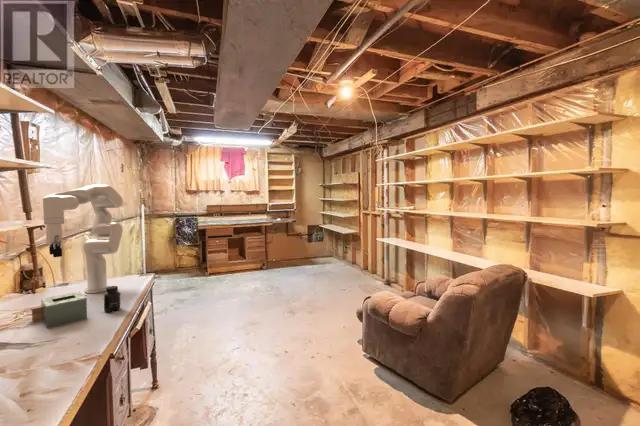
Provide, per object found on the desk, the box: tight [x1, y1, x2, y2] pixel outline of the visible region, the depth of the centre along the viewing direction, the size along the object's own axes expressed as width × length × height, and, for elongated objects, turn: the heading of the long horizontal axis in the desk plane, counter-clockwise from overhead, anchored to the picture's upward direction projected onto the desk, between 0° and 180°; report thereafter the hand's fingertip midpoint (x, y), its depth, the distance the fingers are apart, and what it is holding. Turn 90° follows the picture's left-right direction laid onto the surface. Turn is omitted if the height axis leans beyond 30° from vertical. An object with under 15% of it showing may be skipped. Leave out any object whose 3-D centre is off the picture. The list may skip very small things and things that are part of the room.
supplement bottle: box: [103, 285, 121, 314], centre depth 151 cm, size 7×7×12 cm
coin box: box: [40, 291, 88, 329], centre depth 140 cm, size 14×14×10 cm
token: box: [31, 305, 43, 322], centre depth 140 cm, size 3×6×6 cm, turn 140°
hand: (55, 255), depth 148 cm, fingers open, 9 cm apart
